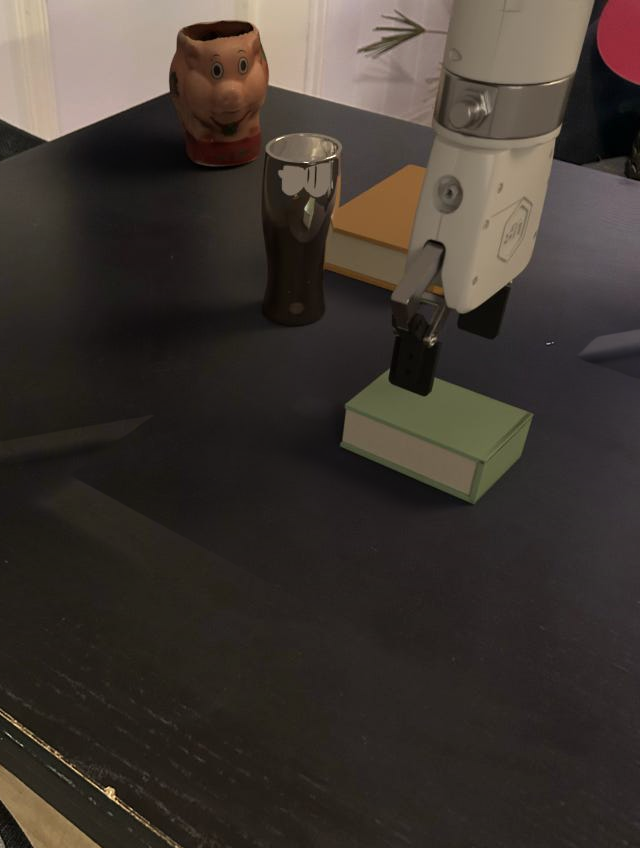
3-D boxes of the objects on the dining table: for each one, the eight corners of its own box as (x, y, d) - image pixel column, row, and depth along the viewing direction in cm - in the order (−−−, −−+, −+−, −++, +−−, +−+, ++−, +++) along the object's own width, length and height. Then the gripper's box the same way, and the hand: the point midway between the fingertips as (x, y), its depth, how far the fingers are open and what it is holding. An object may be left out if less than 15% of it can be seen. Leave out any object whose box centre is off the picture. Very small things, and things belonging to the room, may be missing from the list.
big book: (517, 236, 97) (528, 193, 94) (431, 303, 88) (439, 258, 85) (403, 205, 104) (409, 163, 100) (312, 265, 95) (315, 221, 92)
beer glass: (244, 305, 90) (248, 142, 79) (303, 287, 92) (315, 126, 81) (282, 336, 86) (291, 168, 75) (343, 316, 88) (361, 150, 77)
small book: (520, 456, 72) (533, 413, 69) (474, 504, 68) (485, 461, 65) (389, 404, 77) (396, 362, 74) (339, 446, 74) (344, 404, 71)
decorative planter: (155, 131, 123) (149, 9, 113) (241, 119, 125) (243, -2, 114) (192, 187, 110) (189, 55, 100) (288, 173, 111) (295, 42, 101)
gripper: (488, 159, 48) (428, 432, 61) (622, 73, 56) (545, 328, 69) (367, 130, 51) (334, 393, 64) (510, 53, 60) (456, 299, 73)
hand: (444, 359), depth 67 cm, fingers open, 9 cm apart
